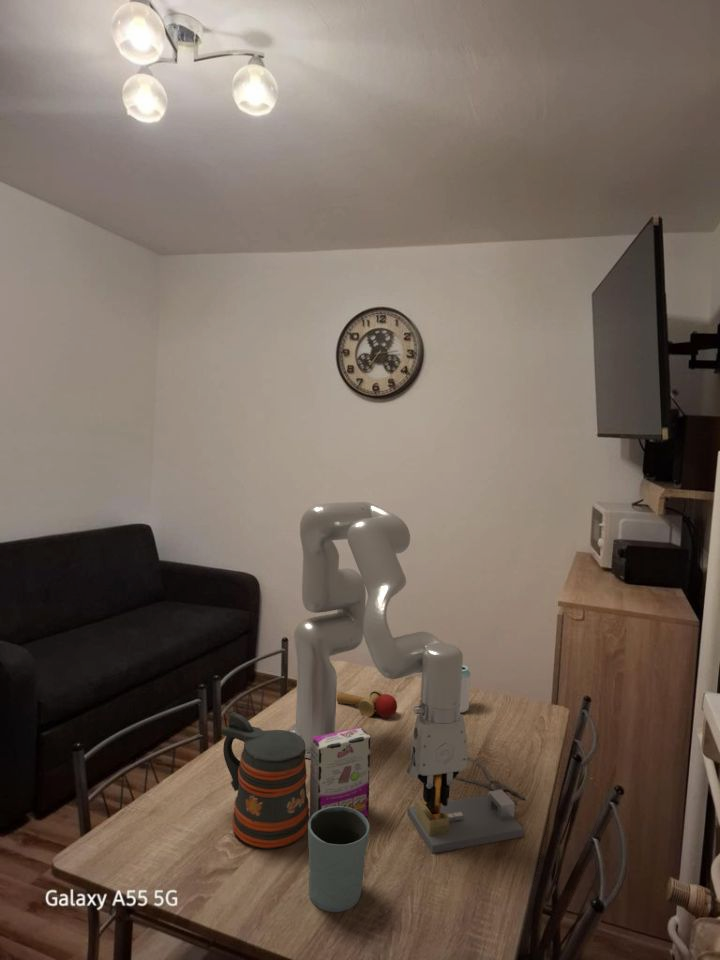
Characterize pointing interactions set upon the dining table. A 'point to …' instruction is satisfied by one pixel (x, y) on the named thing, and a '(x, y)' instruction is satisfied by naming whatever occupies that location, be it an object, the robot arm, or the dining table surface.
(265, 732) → the beer stein
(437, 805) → the amber lever
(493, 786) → the pliers
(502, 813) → the block
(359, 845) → the grey green cup
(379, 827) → the dining table surface
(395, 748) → the dining table surface
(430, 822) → the bracket
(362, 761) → the candy bar box
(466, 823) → the tie down board
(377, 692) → the kendama
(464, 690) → the can
